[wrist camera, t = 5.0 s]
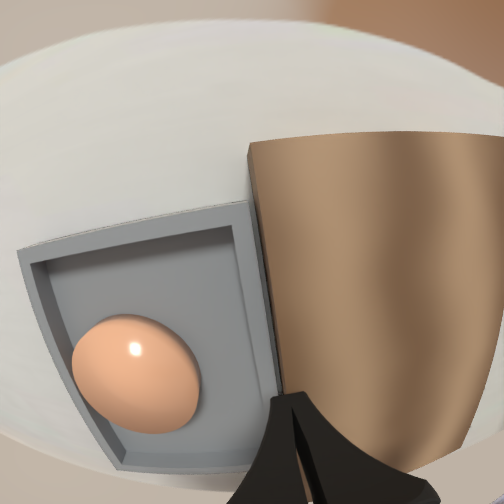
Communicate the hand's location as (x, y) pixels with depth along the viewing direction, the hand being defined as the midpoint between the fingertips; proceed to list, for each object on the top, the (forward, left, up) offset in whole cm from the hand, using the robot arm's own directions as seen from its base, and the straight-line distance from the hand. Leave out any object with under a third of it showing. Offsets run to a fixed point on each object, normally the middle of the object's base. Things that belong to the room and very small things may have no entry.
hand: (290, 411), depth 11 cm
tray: (+6, 0, -5) cm, 8 cm away
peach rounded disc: (+8, 0, -3) cm, 8 cm away
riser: (-6, 0, -5) cm, 8 cm away
